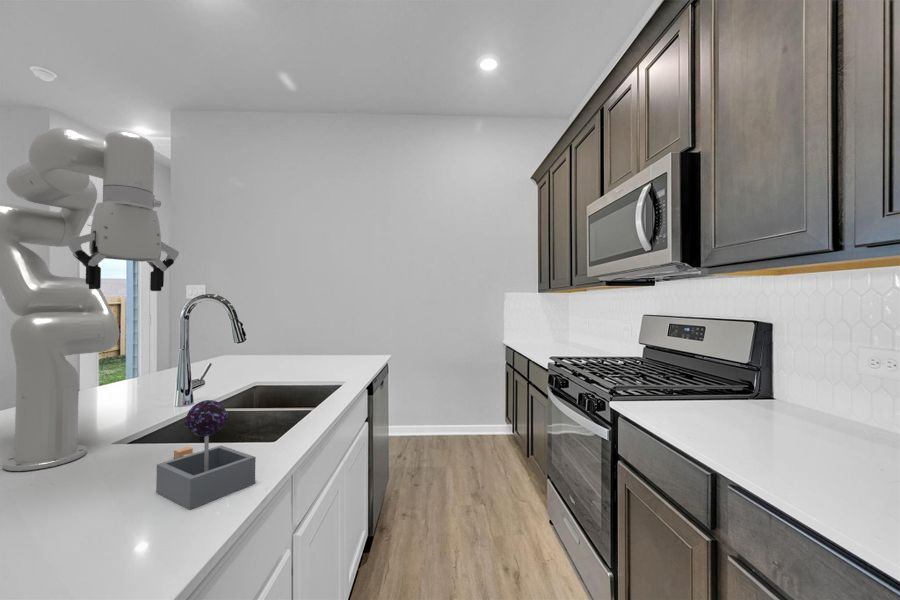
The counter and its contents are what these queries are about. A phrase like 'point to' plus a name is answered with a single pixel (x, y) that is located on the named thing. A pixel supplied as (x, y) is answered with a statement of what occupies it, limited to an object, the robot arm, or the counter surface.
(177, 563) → the counter surface
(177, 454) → the cable run
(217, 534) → the counter surface
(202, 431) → the lollipop
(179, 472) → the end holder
